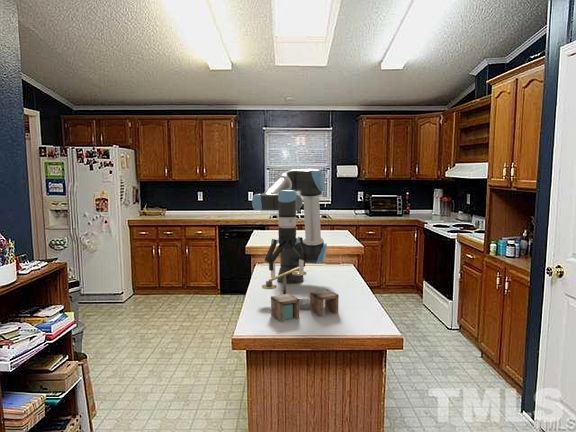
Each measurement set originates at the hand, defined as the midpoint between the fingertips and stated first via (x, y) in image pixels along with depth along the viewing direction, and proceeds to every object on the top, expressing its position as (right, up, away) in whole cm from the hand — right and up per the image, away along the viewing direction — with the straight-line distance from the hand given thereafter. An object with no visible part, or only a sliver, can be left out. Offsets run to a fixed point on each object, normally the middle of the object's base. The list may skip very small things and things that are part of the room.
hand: (287, 276), depth 170 cm
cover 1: (-1, -18, +1) cm, 18 cm away
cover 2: (+16, -17, +7) cm, 24 cm away
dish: (+8, -16, +16) cm, 24 cm away
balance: (-1, -15, +24) cm, 28 cm away
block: (-1, -18, +1) cm, 18 cm away
